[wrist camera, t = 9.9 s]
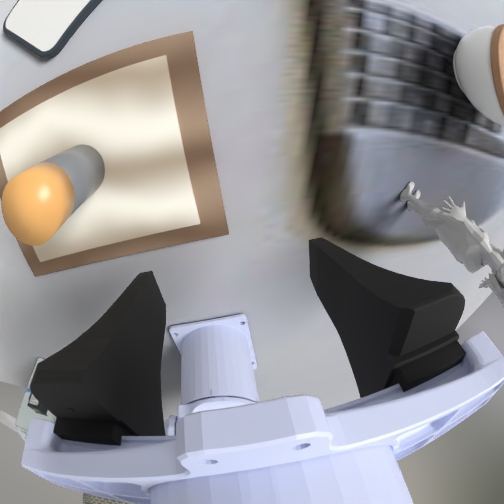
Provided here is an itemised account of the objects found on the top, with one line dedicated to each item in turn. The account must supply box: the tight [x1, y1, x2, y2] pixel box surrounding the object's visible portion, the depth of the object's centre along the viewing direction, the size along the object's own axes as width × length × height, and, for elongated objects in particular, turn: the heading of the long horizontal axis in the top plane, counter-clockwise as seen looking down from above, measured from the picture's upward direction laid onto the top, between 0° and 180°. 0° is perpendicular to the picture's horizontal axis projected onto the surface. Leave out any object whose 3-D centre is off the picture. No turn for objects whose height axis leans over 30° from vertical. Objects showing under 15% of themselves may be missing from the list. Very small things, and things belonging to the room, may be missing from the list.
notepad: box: [0, 31, 229, 277], centre depth 18 cm, size 16×20×1 cm
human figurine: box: [400, 182, 504, 306], centre depth 16 cm, size 12×4×18 cm, turn 51°
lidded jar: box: [453, 25, 504, 126], centre depth 13 cm, size 11×11×9 cm
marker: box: [1, 144, 105, 246], centre depth 14 cm, size 4×4×8 cm
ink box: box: [15, 357, 57, 442], centre depth 25 cm, size 9×5×12 cm, turn 153°
